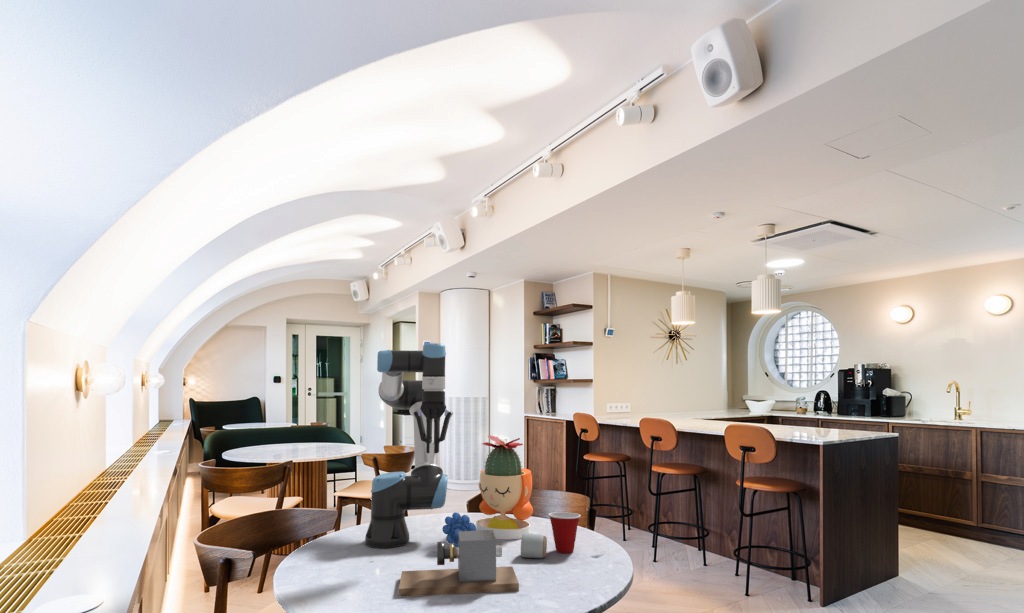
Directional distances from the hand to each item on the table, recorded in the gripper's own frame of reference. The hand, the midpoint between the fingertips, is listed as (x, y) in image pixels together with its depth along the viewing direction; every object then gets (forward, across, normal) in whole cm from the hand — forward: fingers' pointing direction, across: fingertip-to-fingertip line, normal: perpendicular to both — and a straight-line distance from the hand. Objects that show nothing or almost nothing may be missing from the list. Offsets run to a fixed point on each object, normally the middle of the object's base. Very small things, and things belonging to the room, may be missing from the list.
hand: (432, 463), depth 190 cm
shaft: (+24, +17, -21) cm, 36 cm away
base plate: (+29, +15, -22) cm, 40 cm away
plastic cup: (+30, +42, +13) cm, 53 cm away
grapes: (+30, +7, +9) cm, 32 cm away
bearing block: (+27, +19, -21) cm, 39 cm away
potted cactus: (+30, +19, +35) cm, 50 cm away
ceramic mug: (+30, +32, +6) cm, 44 cm away
